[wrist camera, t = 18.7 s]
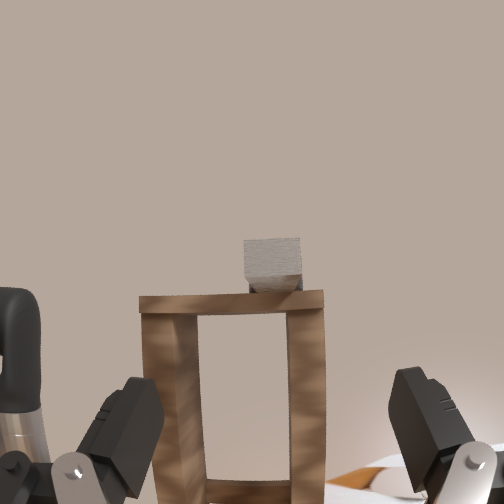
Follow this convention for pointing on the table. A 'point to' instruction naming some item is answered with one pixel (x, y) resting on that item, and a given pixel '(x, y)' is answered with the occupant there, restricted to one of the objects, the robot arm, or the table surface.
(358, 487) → the table surface
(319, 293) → the shelf
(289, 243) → the steel link
